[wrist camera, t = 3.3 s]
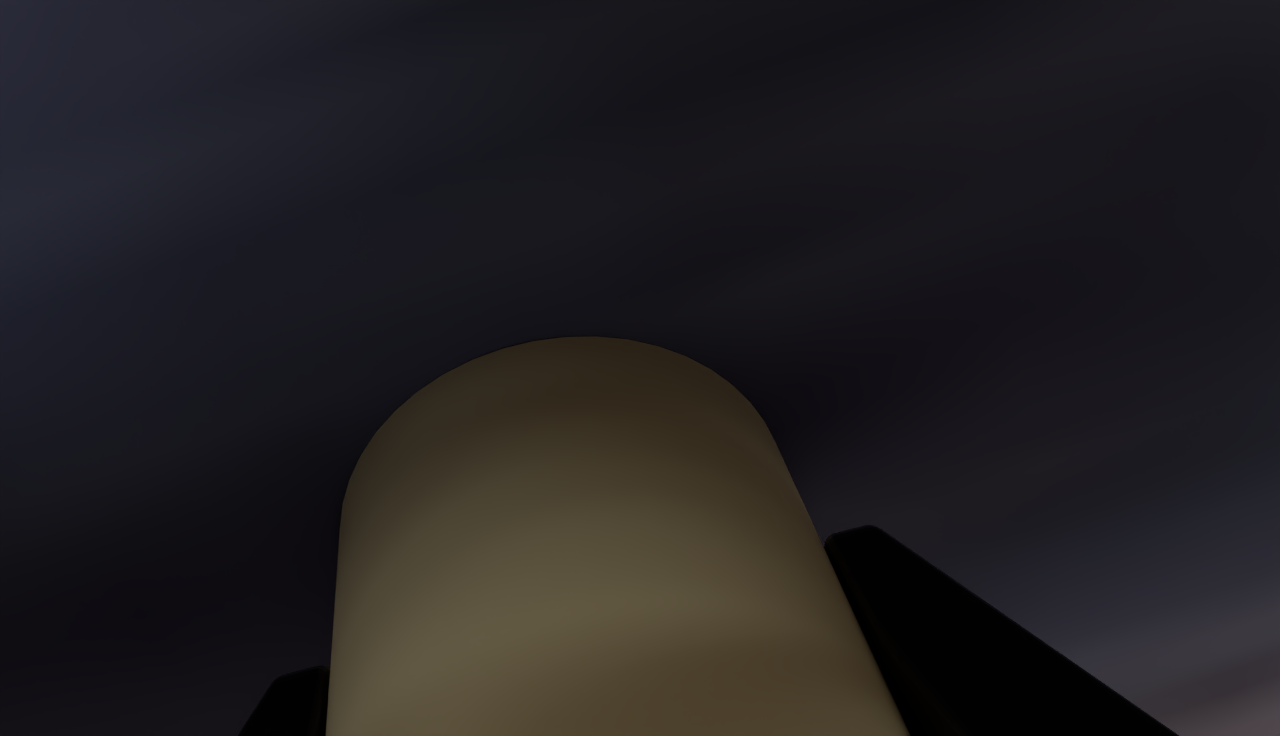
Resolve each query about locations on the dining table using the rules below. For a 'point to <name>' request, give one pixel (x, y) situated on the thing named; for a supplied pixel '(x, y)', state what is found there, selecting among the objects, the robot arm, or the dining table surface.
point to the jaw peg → (589, 562)
